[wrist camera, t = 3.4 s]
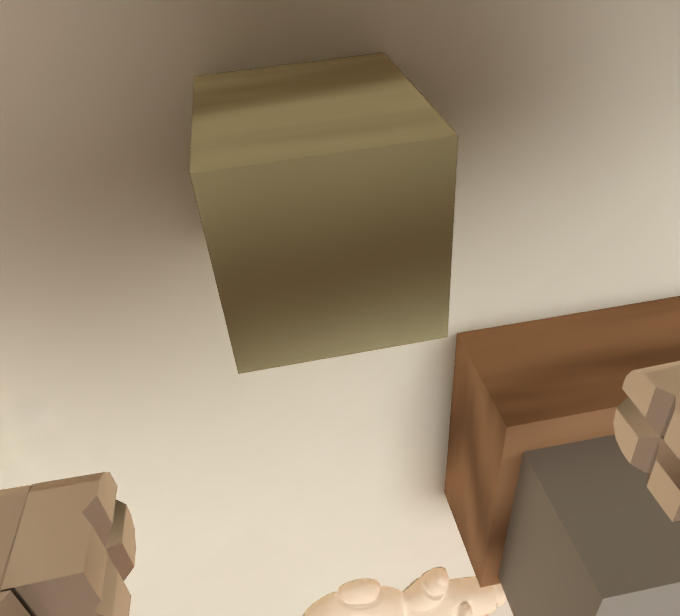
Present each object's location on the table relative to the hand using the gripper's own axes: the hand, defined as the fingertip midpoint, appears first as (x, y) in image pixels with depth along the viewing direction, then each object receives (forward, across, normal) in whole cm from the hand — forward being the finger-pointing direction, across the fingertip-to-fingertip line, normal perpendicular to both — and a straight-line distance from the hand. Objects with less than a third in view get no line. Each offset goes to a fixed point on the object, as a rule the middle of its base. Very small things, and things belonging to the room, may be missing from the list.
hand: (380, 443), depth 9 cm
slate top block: (+6, -10, +13) cm, 17 cm away
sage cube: (+10, 0, -1) cm, 10 cm away
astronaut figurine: (+12, -3, +28) cm, 30 cm away
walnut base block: (+11, -10, +12) cm, 19 cm away
